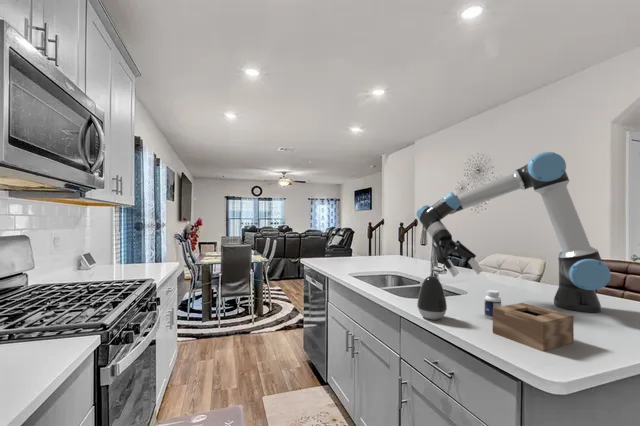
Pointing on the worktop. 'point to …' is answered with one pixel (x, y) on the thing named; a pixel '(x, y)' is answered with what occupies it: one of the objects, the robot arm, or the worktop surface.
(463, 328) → the worktop surface
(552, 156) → the robot arm
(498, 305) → the pill bottle
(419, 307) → the dark grey egg speaker
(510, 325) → the drop box
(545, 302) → the worktop surface
